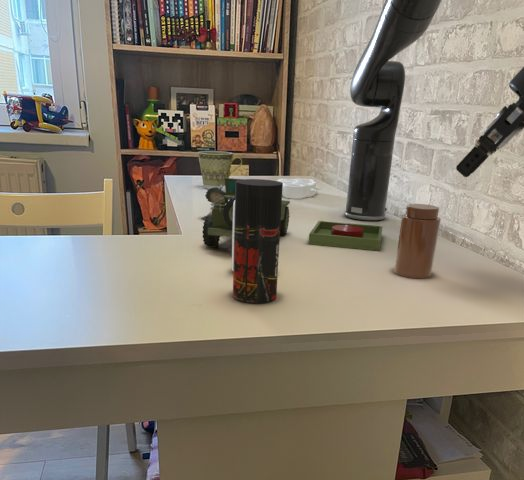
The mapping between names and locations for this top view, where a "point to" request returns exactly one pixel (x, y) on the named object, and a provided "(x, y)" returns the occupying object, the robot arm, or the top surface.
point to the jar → (417, 241)
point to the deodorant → (256, 239)
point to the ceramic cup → (216, 167)
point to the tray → (324, 237)
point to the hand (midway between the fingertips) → (463, 171)
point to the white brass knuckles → (298, 188)
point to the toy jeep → (231, 216)
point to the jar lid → (347, 231)
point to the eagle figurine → (214, 197)
